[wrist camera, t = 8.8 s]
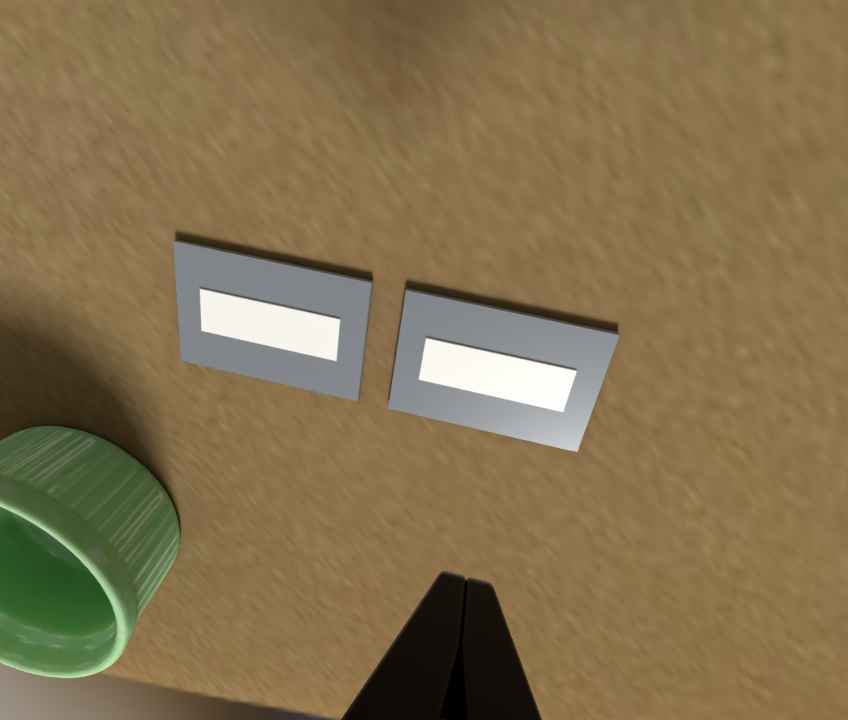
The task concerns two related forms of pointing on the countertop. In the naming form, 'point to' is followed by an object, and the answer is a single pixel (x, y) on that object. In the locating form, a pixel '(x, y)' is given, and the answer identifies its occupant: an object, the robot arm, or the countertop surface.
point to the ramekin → (76, 549)
